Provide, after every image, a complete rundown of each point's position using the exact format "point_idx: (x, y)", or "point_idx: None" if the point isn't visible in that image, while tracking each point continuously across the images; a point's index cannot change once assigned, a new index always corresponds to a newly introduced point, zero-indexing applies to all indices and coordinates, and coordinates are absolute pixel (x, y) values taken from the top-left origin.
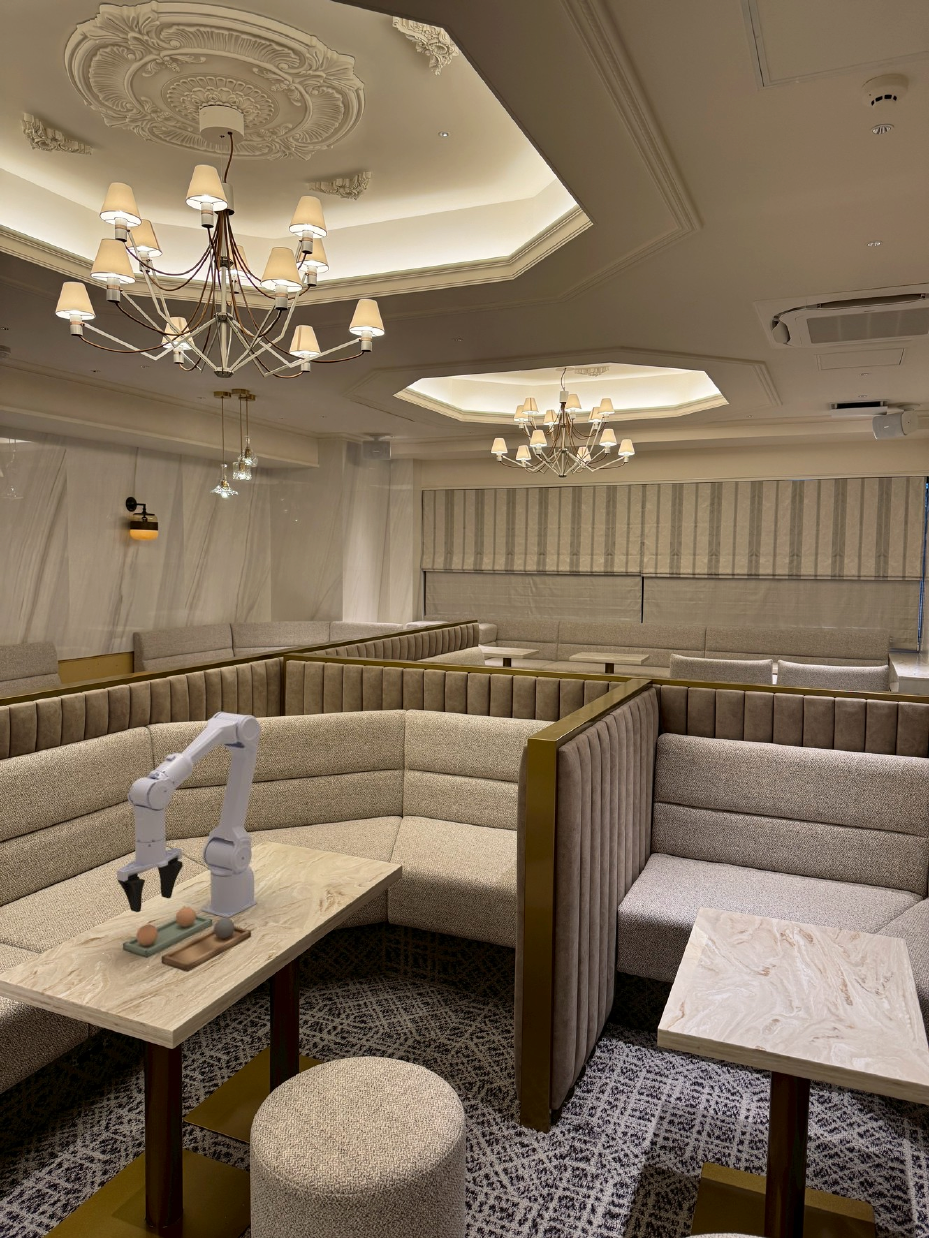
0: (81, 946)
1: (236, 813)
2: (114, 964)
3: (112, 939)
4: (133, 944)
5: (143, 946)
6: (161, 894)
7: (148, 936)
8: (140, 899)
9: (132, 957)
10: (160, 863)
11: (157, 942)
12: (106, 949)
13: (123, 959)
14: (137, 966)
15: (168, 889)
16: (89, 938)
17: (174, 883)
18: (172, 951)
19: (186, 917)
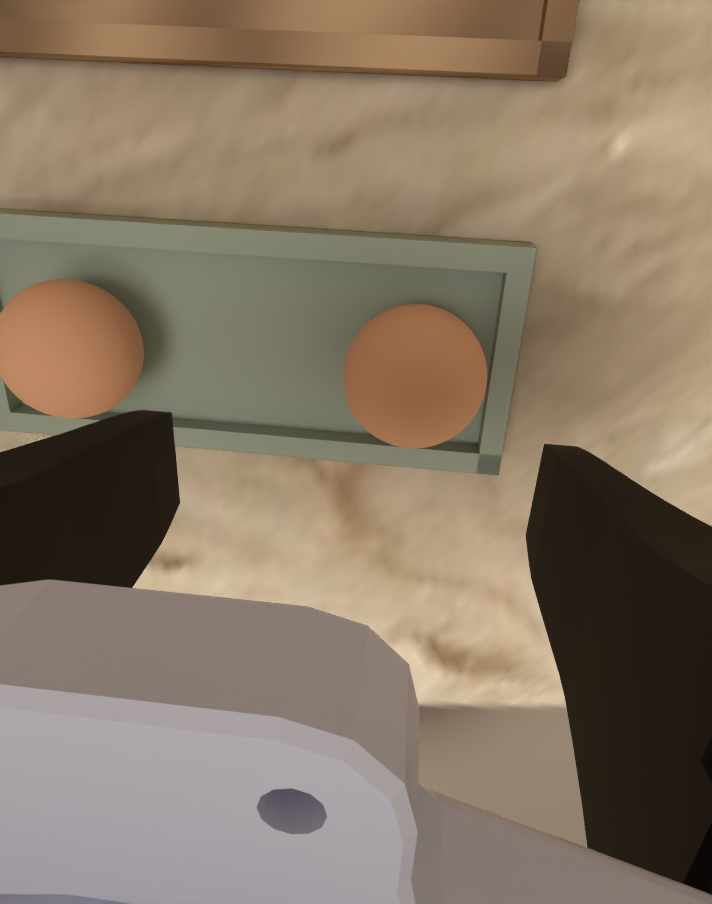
0: (538, 654)
1: None
2: (664, 369)
3: (415, 586)
4: None
5: None
6: (173, 517)
7: (460, 327)
8: (614, 489)
9: (549, 340)
10: (295, 823)
11: (360, 323)
12: (520, 536)
13: (590, 369)
14: (646, 213)
15: (125, 461)
16: (455, 677)
17: (26, 445)
18: (465, 60)
19: (93, 308)
